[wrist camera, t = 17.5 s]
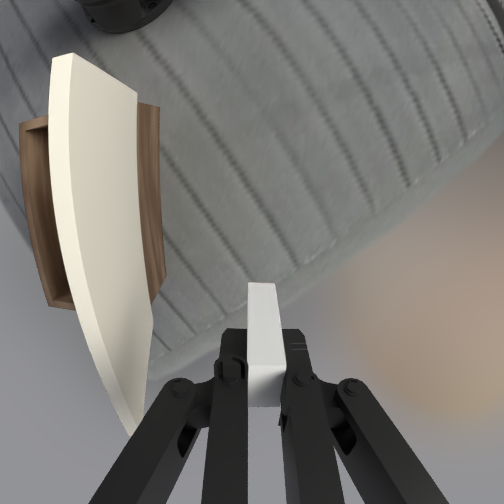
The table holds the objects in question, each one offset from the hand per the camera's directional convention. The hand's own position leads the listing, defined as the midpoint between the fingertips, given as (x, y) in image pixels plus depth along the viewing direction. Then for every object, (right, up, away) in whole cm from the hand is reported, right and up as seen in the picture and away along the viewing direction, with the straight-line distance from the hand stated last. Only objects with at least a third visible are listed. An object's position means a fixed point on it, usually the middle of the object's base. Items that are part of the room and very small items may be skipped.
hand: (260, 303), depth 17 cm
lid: (-12, +3, +5) cm, 14 cm away
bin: (-22, +11, +24) cm, 35 cm away
